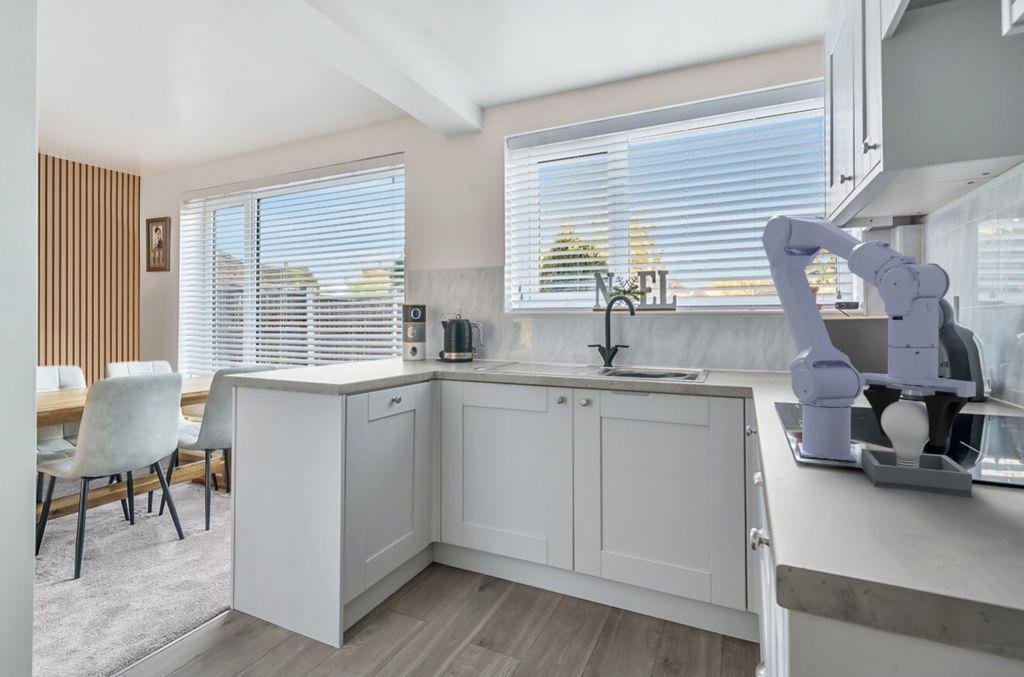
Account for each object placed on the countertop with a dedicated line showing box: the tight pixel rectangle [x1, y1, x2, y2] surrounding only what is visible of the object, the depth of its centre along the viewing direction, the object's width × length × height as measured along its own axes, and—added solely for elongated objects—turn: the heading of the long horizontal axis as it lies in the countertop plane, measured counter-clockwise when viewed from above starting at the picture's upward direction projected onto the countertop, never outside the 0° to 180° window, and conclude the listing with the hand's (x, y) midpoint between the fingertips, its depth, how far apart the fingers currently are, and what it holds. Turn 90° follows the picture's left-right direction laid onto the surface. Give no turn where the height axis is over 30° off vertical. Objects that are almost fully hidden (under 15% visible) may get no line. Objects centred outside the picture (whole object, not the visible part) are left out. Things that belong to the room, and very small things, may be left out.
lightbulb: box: [881, 399, 930, 468], centre depth 73 cm, size 6×6×11 cm
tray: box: [860, 448, 973, 498], centre depth 74 cm, size 11×11×3 cm
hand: (911, 440), depth 74 cm, fingers closed on lightbulb, 6 cm apart
